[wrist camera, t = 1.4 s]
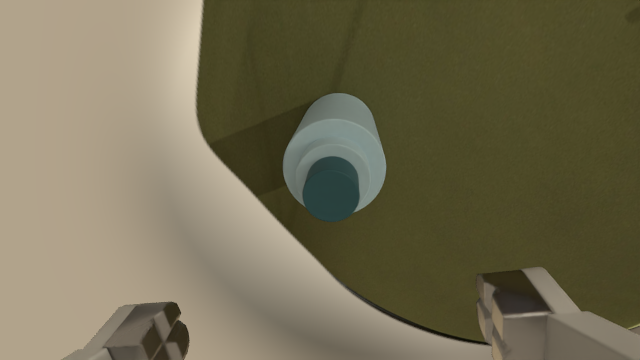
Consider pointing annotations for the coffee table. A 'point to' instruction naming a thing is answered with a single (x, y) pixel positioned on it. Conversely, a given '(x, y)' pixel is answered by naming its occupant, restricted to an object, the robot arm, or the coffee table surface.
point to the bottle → (335, 158)
